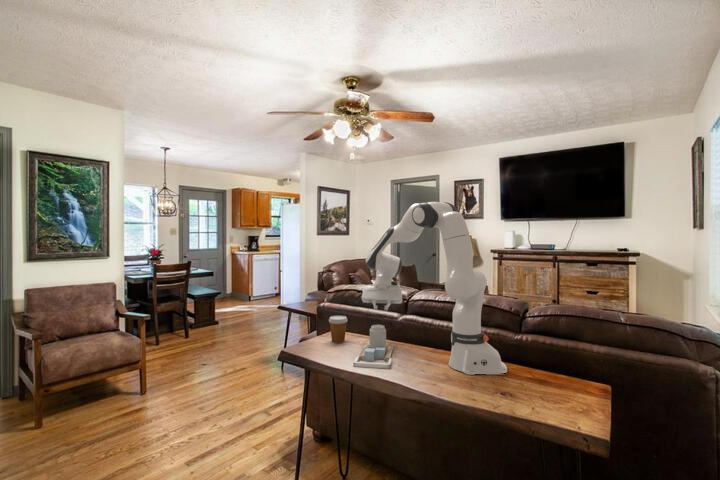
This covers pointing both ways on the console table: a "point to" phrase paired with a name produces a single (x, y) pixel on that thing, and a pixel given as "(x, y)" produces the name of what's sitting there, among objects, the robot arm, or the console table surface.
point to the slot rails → (387, 356)
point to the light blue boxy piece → (380, 353)
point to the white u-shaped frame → (372, 364)
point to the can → (377, 336)
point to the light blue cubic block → (369, 354)
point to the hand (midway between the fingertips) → (380, 309)
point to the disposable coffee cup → (338, 328)
